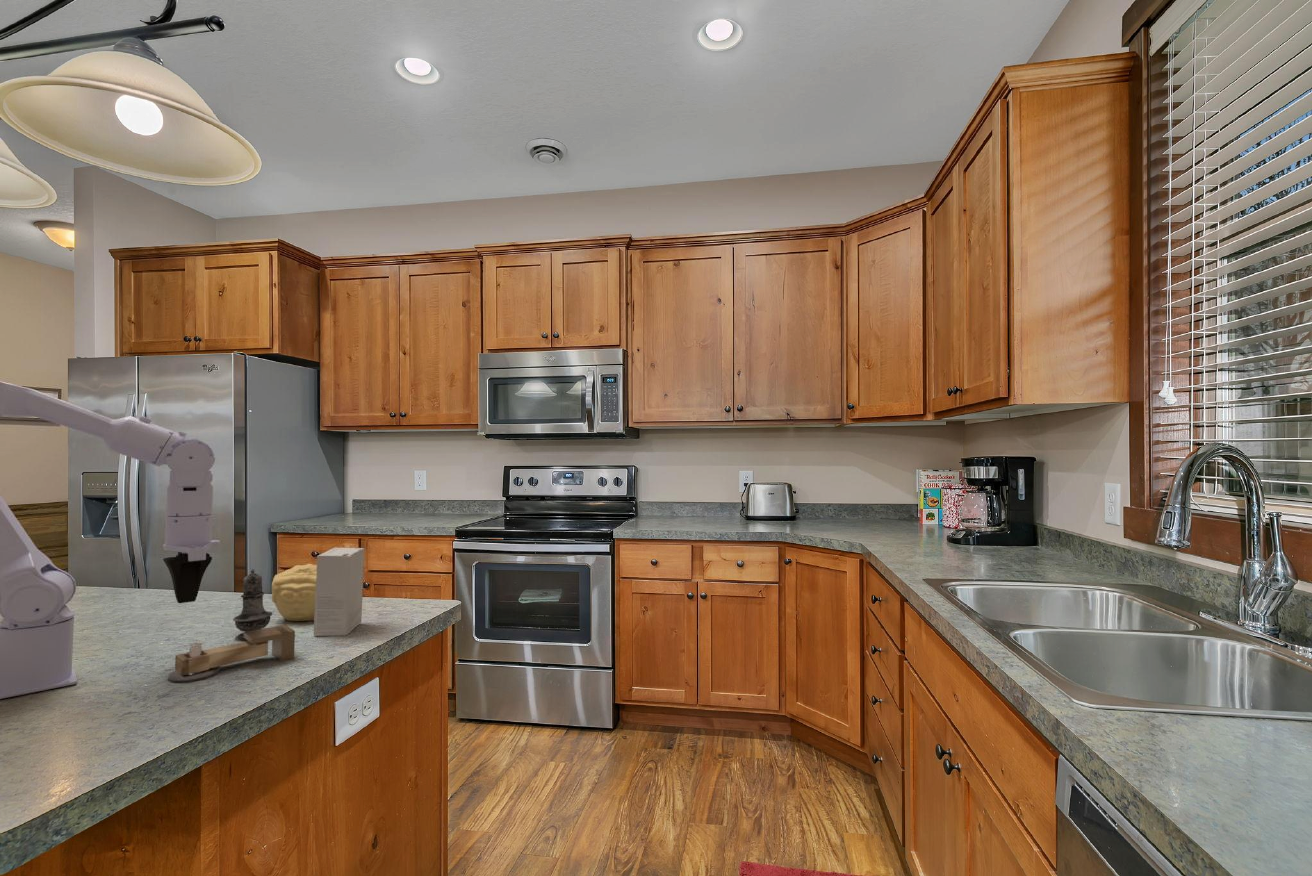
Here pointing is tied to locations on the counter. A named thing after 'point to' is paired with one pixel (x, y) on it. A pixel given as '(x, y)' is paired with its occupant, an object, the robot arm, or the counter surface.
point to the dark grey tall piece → (252, 606)
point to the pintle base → (178, 678)
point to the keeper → (275, 640)
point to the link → (219, 656)
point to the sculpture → (295, 592)
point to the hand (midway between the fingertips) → (186, 601)
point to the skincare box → (338, 591)
